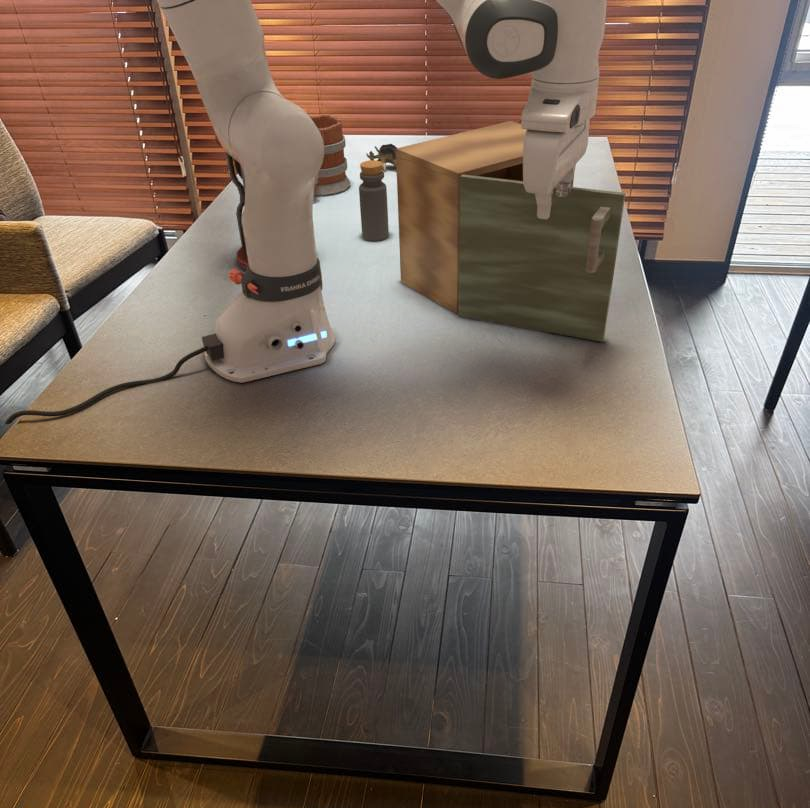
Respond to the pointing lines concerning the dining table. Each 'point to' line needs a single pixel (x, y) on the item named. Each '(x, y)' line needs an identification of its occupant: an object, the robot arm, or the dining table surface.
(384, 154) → the eagle figurine
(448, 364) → the dining table surface
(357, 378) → the dining table surface
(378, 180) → the bottle
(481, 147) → the cupboard
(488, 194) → the door
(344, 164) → the mug
